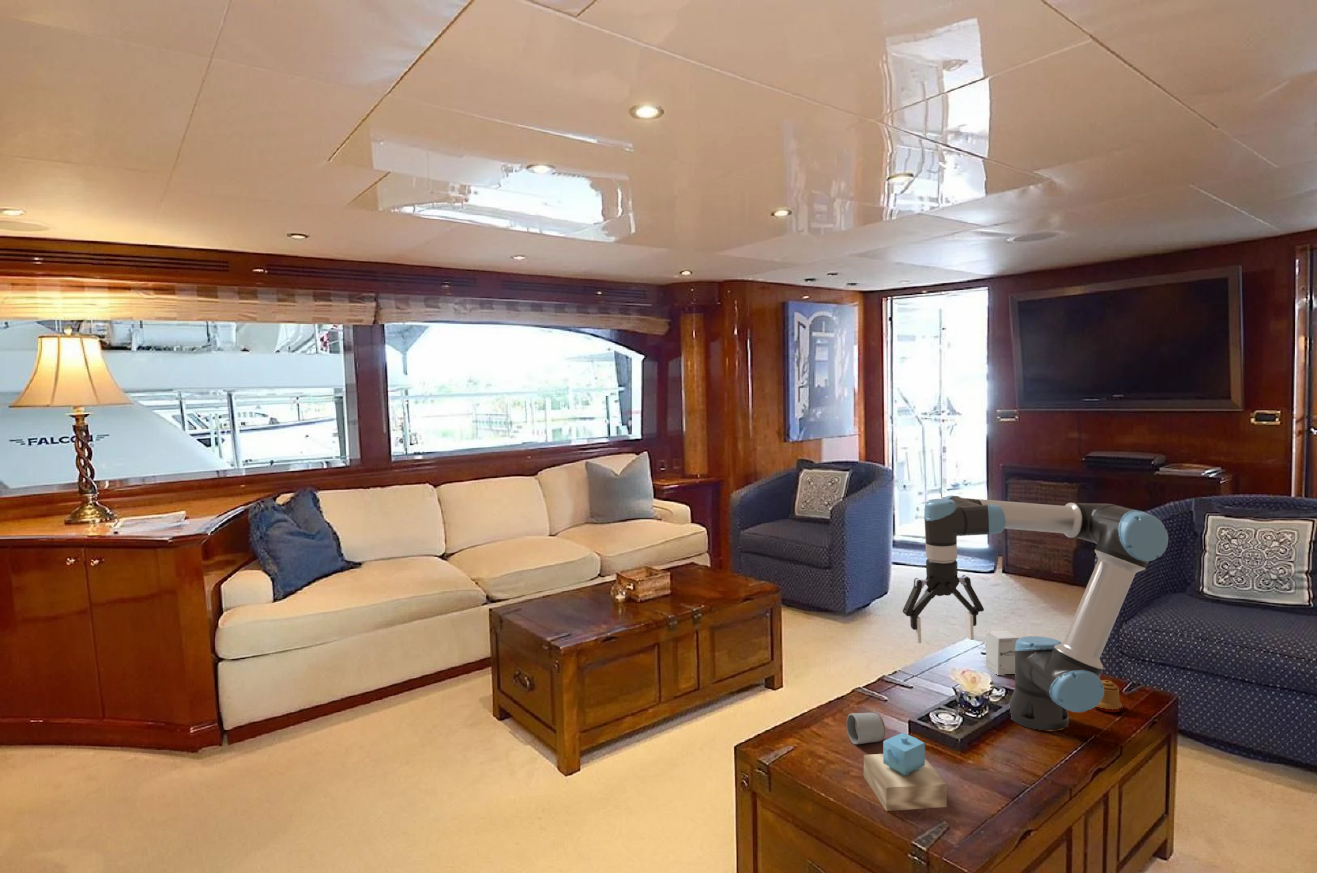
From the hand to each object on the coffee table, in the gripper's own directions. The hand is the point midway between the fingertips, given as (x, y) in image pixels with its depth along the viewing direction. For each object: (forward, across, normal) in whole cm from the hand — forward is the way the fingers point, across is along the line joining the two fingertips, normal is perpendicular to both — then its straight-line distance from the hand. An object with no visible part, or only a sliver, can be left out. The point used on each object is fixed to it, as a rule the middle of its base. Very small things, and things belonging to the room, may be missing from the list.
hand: (943, 639), depth 183 cm
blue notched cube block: (+23, +19, +20) cm, 36 cm away
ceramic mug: (+28, +21, -5) cm, 35 cm away
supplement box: (+30, -38, -46) cm, 67 cm away
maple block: (+29, +19, +20) cm, 39 cm away
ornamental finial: (+31, -54, -18) cm, 65 cm away
